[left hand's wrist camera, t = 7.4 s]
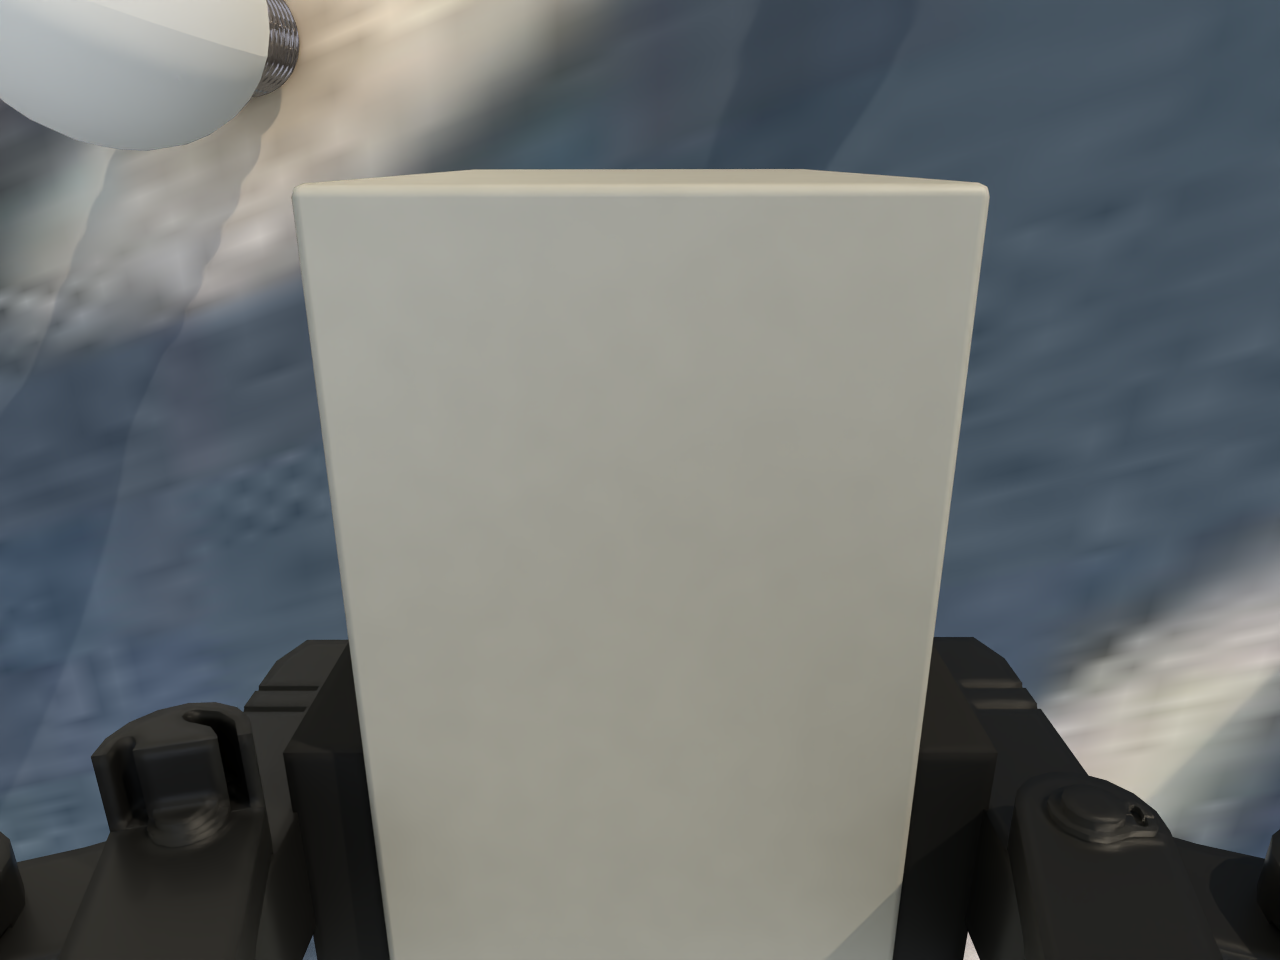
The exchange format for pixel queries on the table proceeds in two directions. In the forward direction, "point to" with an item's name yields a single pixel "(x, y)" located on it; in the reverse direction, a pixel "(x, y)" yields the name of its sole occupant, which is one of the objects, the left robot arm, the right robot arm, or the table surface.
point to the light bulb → (142, 65)
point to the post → (640, 544)
